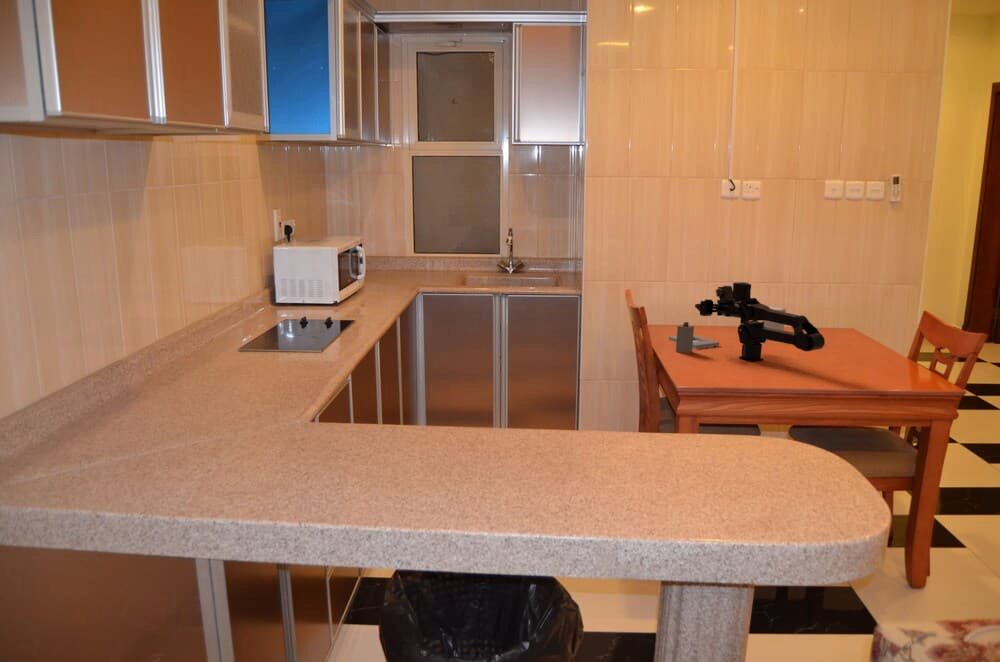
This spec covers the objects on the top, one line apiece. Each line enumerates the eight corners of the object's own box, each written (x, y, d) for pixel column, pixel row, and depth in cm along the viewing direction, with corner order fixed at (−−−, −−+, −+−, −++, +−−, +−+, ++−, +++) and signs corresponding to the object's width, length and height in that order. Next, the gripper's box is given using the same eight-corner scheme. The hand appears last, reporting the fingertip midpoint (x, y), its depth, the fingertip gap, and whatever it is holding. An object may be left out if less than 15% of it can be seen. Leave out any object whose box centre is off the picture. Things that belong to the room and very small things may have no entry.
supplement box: (777, 340, 320) (780, 310, 318) (759, 337, 325) (762, 308, 322) (783, 337, 326) (786, 307, 323) (766, 335, 331) (768, 305, 328)
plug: (692, 351, 298) (694, 322, 295) (686, 354, 294) (688, 324, 292) (681, 349, 301) (683, 320, 298) (675, 351, 297) (677, 322, 295)
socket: (718, 346, 308) (719, 342, 308) (695, 348, 303) (695, 345, 302) (691, 337, 322) (691, 334, 322) (668, 340, 316) (668, 336, 316)
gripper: (753, 288, 296) (722, 285, 310) (718, 287, 287) (687, 284, 300) (751, 317, 298) (720, 313, 311) (715, 317, 288) (685, 313, 302)
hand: (704, 305), depth 306 cm, fingers open, 9 cm apart
